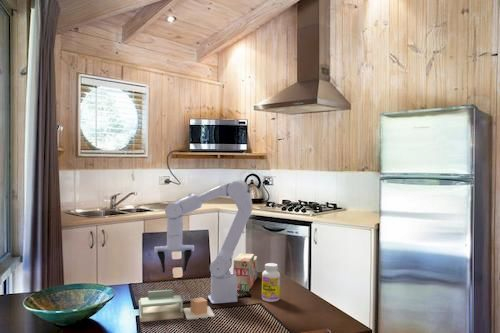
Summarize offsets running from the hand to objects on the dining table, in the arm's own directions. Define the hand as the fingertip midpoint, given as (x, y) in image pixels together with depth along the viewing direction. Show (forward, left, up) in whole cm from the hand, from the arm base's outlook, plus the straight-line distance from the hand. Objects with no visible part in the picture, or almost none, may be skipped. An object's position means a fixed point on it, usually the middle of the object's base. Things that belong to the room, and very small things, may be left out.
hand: (174, 271), depth 146 cm
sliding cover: (+6, +17, -8) cm, 20 cm away
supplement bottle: (-34, +12, -10) cm, 37 cm away
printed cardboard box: (-31, -9, -10) cm, 34 cm away
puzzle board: (+6, +13, -9) cm, 17 cm away
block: (-6, +19, -9) cm, 22 cm away
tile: (-6, +19, -9) cm, 22 cm away
